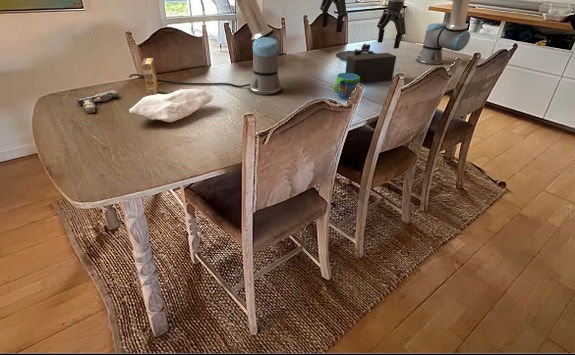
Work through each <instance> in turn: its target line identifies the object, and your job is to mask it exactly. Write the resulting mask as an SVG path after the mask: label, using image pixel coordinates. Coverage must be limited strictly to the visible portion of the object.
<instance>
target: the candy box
mask: <svg viewBox="0 0 575 355" xmlns="http://www.w3.org/2000/svg"><path fill="white" fill-rule="evenodd" d="M141 66H142V73H143V75H144V77H143V78H144V82H145V87H146V92H147V96H150V95H156V94H159V91H160V90H159V84H158V80H157V78H158V77H157V73H156V66H155V62H154V58H153V57H151V58H150V57H149V58H146V57H145V58H143V60H142V63H141Z"/></svg>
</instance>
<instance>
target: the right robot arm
mask: <svg viewBox="0 0 575 355" xmlns="http://www.w3.org/2000/svg"><path fill="white" fill-rule="evenodd" d="M404 1H405V0H388V1H387V6H386V9H383V11H382V14H381V17H380V18H379V21H378V23H377V25H376V27H377V28H378V34H377V35H378V37H377V43H383V40H384V36H385V29H386V27H387V25H388V24H389V23H390V21H391V22H393V23H394V27H395V29H396V34H395V39H394V44H393V49H395V50H396V49H399V48H400V44H401V42H402V37H403V36H404V35H406V34H407V32H406V30H407V29H406V21H405V15H406V13H405V12H401V11H403V9H404V8H403V7H404ZM470 1H471V0H452V4H451V11H450V16H449V22H448V23H445V22H443V23H441V22H438V23H437V22H436V23H429V24H428V25H427V27H426V31H425V35H424V40H423V45H422V48H421V50H420V51H419V53H417V57H416V61H417V62H418V63H420V64H423V65H431V66H433V65H434V66H436V65H437V66H438V65H442V64H443V52H442V51H443V49H447V50H450V51H451V52H452V51H454V52H460V51H462V50H464V48H465V47H466V46H467V45H468V43H469V41H470V39H471V33H470V31H469V30H468V25H467V23H466V22H467V17H468V11H469V7H470Z"/></svg>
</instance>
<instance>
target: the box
mask: <svg viewBox="0 0 575 355" xmlns="http://www.w3.org/2000/svg"><path fill="white" fill-rule="evenodd" d="M396 60H397V55H395V54H391V53H389V52H380V53H378V52H377V54H366V55H354V56H347V61H346V65H345V71H344V73H352V74H356V75H358V76H359V77H360V83H363V85H364V84H371V83H380V82H388V81H392V80H393V77H394V72H395V66H396V62H397V61H396Z"/></svg>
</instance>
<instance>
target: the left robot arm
mask: <svg viewBox="0 0 575 355" xmlns="http://www.w3.org/2000/svg"><path fill="white" fill-rule="evenodd" d="M235 1H236V3H237V5H238V7H239V9H240V11H241V14H242V16H243V18H244V20H245V22H246V24H247V26H248V28H249V31H250V33H251V35H252V36H251V43H252V69H253V70H252V77H251V81H250V83H246V84H242V85H240V84H234V83H230V82H185V81H177V80H176V81H174V80H169V79H162V78H158V77H156V78H157V81H161V82H165V83H171V84H177V85H178V84H179V85H192V86H193V85H195V86H219V85H225V86H231V87H236V88H244V87H245V88H246V87H249V91H250V92H251V93H253V94H255V95H261V96H271V95H277V94H279V93H281V92H282V85H281V81H280V78H279V57H280V55H281V51H282V44H281V41H280V39H279V37H277V36H276V33H275V31H274V29H273V28H272V27H270V26H269V25H268V23H267V21H266V19H265V16H264V14H263V12H262V10H261V7H260V5H259V3H258V1H257V0H235ZM332 3H334V5H335V9H336V12H337V16H336V24H335V33H342V31H343V23H344V18H345V17H347V16H348V13H347V4H346V0H322V1H321V4H320V7H319V9H320V10H321V12H322V15H321V28H326V27H328V21H329V9H330V7H331V6H332ZM134 76H135V77H136V76H137V77H142V78H145V77H144V74H140V73H132V74H130V75H129V76H128V78H132V77H134Z"/></svg>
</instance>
